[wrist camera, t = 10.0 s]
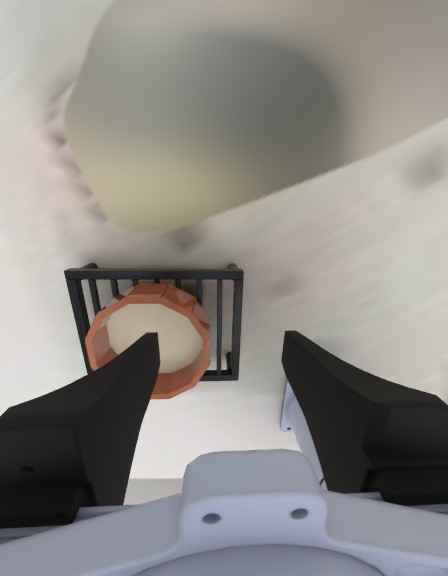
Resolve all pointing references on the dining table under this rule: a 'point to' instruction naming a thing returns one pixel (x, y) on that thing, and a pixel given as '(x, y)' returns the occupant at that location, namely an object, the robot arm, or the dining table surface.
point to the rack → (94, 273)
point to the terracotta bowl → (155, 318)
